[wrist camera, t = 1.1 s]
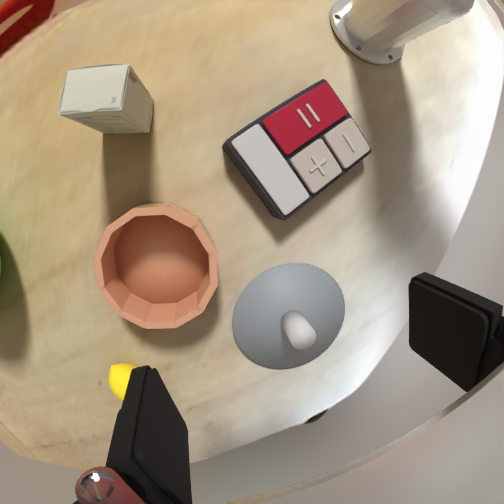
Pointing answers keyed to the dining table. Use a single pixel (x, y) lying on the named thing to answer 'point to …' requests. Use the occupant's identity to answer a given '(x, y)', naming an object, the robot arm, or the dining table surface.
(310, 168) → the calculator
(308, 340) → the lid
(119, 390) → the lemon
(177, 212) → the bowl
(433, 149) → the dining table surface
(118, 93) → the skincare box
